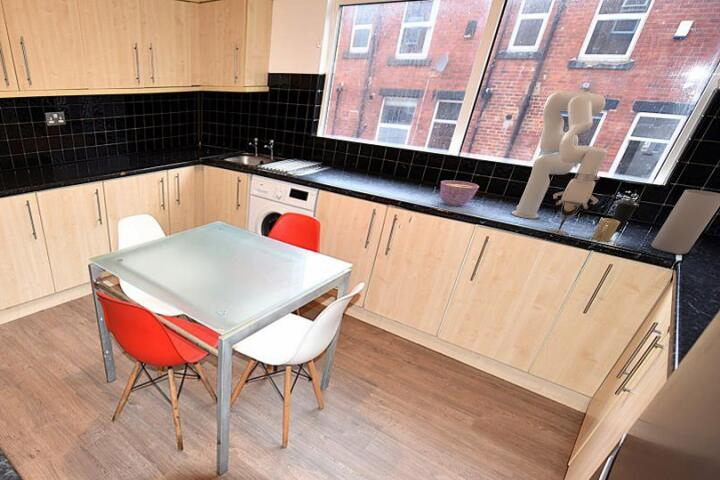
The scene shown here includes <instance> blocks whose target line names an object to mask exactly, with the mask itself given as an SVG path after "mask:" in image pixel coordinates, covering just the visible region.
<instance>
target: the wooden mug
mask: <svg viewBox="0 0 720 480" xmlns="http://www.w3.org/2000/svg"><path fill="white" fill-rule="evenodd" d="M619 224H620V221H618V220H614V219H612V218H608V217H607V218H606V217H603V218H602V217H601V219H600V220H599V222H598V224H597V226H596V228H595V230H594V231H593V233H592V235H591V239H592V240H595V241H599V242H610V241H611V240H612V238H613V237H614V234H615V233H616V232H615V231H616V229H617V227H618V226H619Z"/></svg>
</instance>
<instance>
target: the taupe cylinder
mask: <svg viewBox="0 0 720 480" xmlns="http://www.w3.org/2000/svg"><path fill="white" fill-rule="evenodd" d="M719 208H720V193H718V192H713V191H707V190H700V189H699V190H698V189H684V191H683V193H682V195H681V196H680V197H679V199H678V201H677V202H676V204H675V205H674V207H673V209H672V210H671V211H670V213H669V215H668V217H667V218H666V220H665V222H664V223H663V225H662V226H661V228H660V230H659V231H658V233H657V234H656V235H655V237H654V239H653V240H652V242H651V244H650V247H651V248H652V249H654V250H657V251H659V252H663V253H668V254H672V255H673V254H674V255H685V254H688V253H689V251H690V250H691V249H692V247H693V246H694V245H695V244H696V241H697V240H698V239H699V237H700V235H701V234H702V232H703V231H704V230H705V228H706V227H707V225H708V224H709V222H710V221H711V219H712V218H713V217H714V216H715V213H716V212H717V211H718V209H719Z"/></svg>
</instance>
